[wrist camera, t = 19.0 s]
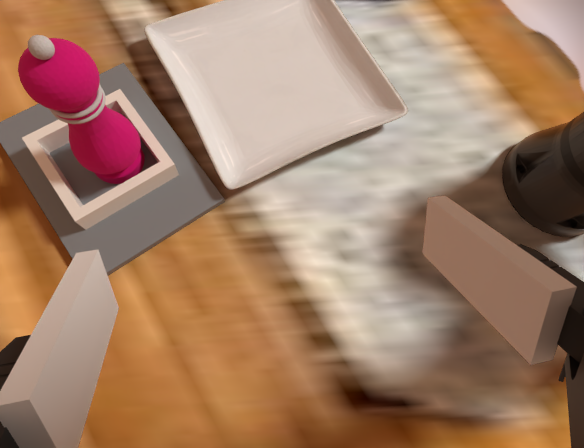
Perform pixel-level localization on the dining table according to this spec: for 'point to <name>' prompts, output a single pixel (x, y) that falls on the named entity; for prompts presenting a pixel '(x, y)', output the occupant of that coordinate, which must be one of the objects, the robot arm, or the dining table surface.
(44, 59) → the pepper mill
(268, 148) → the square plate
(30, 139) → the caddy
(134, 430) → the dining table surface
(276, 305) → the dining table surface
